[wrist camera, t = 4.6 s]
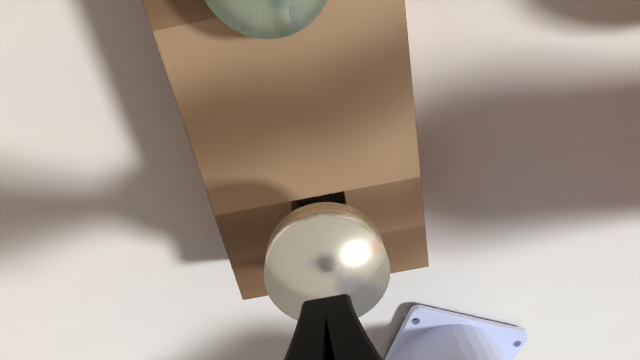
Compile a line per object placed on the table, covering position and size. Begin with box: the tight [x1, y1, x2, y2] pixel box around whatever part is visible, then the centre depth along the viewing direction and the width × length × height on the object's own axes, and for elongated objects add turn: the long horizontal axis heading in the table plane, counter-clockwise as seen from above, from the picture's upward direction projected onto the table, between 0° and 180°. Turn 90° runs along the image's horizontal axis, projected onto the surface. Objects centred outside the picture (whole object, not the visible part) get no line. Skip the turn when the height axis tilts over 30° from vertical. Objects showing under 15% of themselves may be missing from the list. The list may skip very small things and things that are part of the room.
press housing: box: [142, 0, 429, 300], centre depth 17 cm, size 17×9×4 cm, turn 11°
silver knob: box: [264, 202, 390, 320], centre depth 16 cm, size 4×4×4 cm
